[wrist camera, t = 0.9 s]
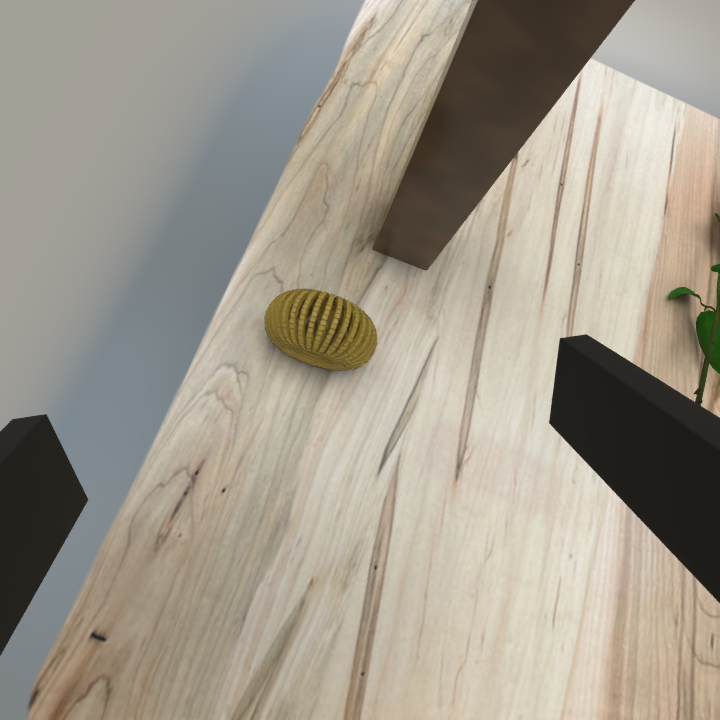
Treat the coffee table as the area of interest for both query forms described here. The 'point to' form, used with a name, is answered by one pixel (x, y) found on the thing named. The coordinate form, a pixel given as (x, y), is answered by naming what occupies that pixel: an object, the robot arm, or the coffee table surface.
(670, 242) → the coffee table surface
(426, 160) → the stand post
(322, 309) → the sculpture
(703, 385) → the flower
